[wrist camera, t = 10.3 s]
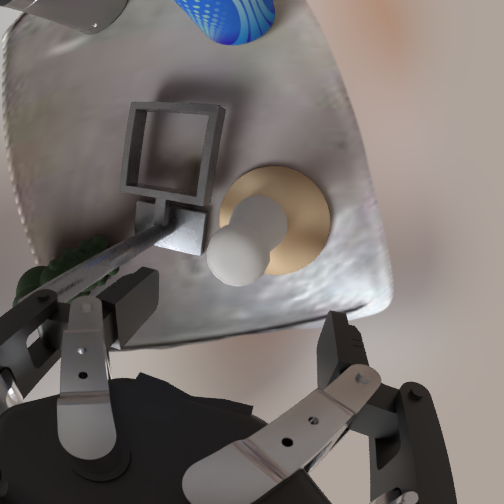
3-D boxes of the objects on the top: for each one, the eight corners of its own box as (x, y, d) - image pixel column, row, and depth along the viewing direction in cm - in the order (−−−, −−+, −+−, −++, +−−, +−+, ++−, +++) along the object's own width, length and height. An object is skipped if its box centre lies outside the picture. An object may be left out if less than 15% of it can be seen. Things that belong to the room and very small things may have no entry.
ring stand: (149, 107, 29) (-11, 78, 8) (229, 111, 28) (95, 38, 7) (134, 237, 34) (-2, 317, 14) (207, 254, 33) (91, 378, 13)
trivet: (230, 157, 29) (228, 157, 29) (340, 179, 28) (341, 179, 28) (214, 260, 33) (213, 261, 33) (314, 282, 32) (315, 284, 32)
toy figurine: (120, 206, 35) (34, 275, 40) (16, 239, 17) (-38, 317, 22) (152, 266, 37) (58, 319, 42) (68, 338, 19) (-7, 373, 24)
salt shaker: (247, 184, 29) (209, 200, 17) (297, 206, 29) (295, 239, 17) (227, 232, 31) (181, 278, 19) (274, 254, 31) (257, 314, 19)
